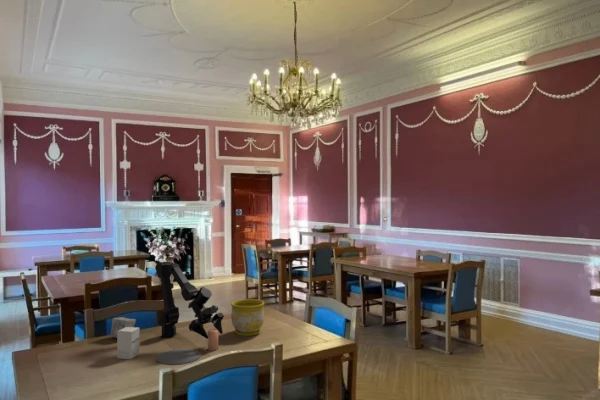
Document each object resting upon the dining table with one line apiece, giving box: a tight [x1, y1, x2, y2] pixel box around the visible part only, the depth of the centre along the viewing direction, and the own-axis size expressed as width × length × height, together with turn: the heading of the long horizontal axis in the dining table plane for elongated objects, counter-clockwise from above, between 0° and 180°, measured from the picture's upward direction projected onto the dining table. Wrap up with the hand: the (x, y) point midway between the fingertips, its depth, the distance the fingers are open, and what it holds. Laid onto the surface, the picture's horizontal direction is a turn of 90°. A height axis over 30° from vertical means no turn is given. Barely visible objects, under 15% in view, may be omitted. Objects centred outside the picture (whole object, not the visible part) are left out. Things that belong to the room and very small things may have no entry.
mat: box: [156, 348, 202, 366], centre depth 212 cm, size 20×20×1 cm
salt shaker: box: [207, 328, 219, 352], centre depth 223 cm, size 5×5×9 cm
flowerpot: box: [230, 298, 265, 337], centre depth 250 cm, size 18×18×16 cm
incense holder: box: [110, 316, 137, 339], centre depth 241 cm, size 10×8×10 cm
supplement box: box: [116, 326, 141, 360], centre depth 213 cm, size 7×7×13 cm
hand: (215, 335), depth 222 cm, fingers open, 9 cm apart
